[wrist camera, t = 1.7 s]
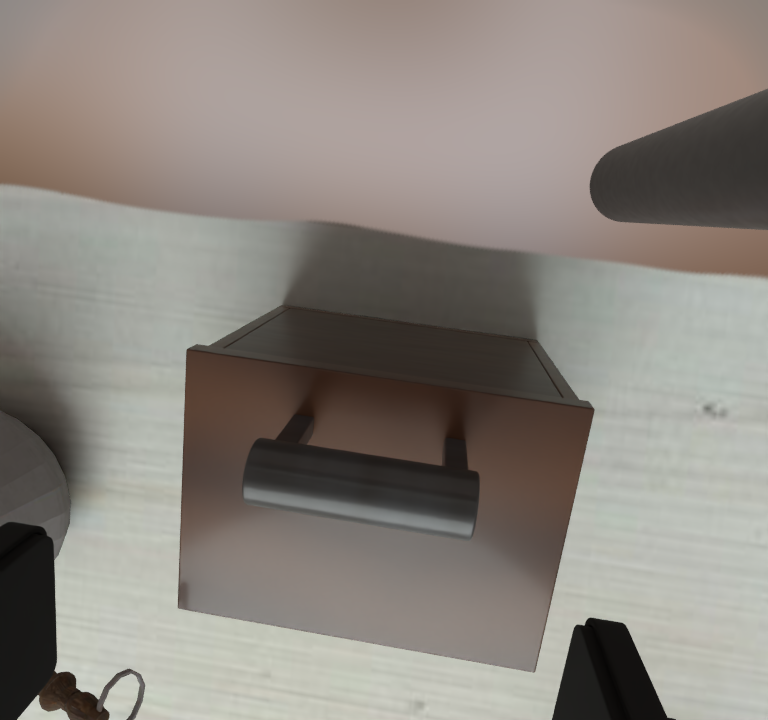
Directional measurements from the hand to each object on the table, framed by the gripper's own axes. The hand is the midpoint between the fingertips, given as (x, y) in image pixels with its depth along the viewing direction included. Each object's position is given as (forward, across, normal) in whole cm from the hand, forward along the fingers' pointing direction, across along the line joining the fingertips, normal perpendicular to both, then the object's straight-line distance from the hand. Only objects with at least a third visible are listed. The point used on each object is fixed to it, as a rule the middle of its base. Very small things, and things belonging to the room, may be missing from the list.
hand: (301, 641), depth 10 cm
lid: (+10, 0, +3) cm, 10 cm away
